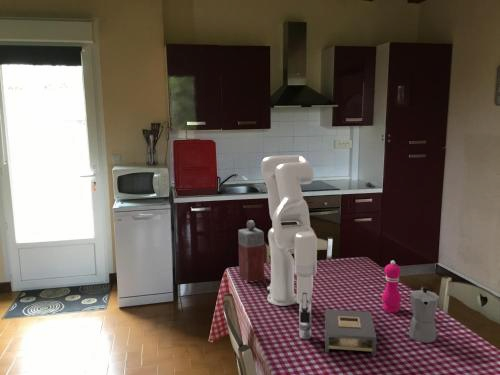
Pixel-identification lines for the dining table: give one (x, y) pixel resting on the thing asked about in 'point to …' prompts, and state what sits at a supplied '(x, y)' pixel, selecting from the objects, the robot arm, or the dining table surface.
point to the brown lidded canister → (251, 253)
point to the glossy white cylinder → (305, 326)
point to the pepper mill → (392, 288)
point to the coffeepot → (423, 315)
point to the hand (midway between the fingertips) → (305, 317)
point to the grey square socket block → (349, 331)
